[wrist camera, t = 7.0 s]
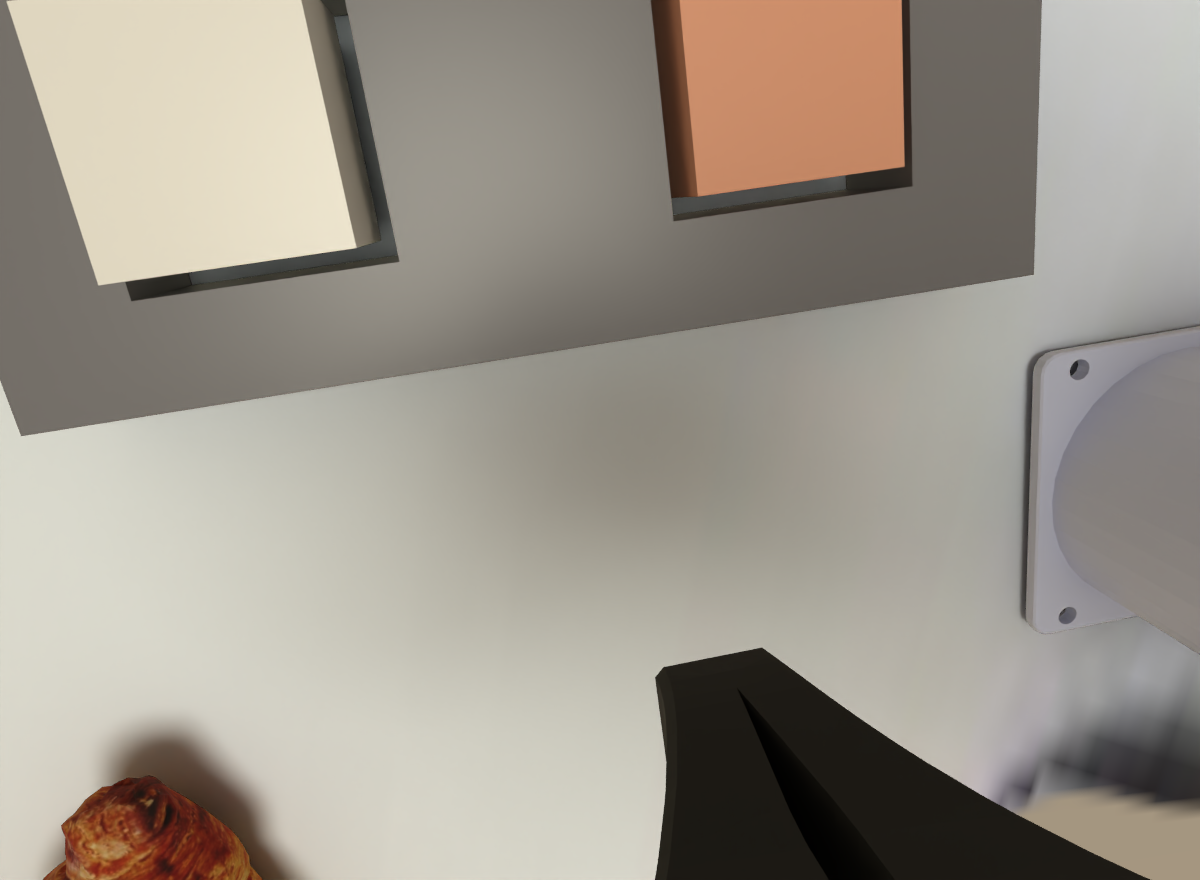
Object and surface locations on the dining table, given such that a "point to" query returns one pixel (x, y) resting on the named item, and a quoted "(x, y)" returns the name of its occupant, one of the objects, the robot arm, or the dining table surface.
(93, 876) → the croissant
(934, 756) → the dining table surface
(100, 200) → the beige key
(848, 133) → the terracotta key
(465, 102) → the key block
